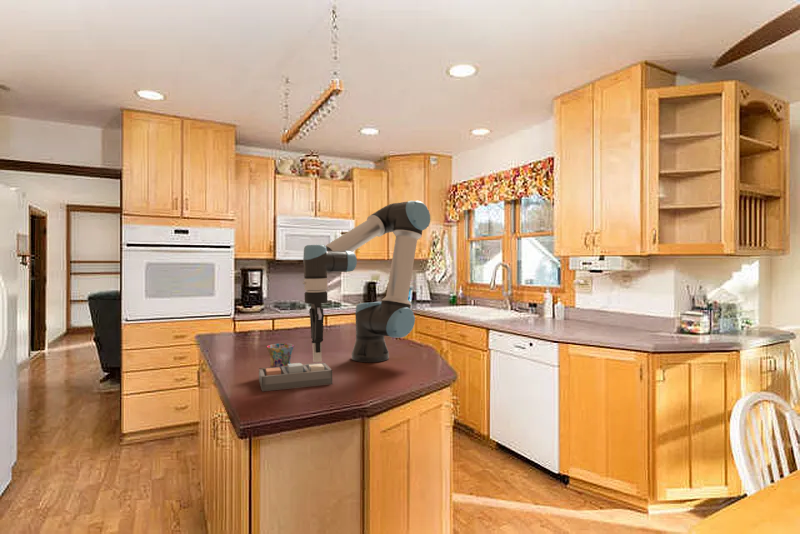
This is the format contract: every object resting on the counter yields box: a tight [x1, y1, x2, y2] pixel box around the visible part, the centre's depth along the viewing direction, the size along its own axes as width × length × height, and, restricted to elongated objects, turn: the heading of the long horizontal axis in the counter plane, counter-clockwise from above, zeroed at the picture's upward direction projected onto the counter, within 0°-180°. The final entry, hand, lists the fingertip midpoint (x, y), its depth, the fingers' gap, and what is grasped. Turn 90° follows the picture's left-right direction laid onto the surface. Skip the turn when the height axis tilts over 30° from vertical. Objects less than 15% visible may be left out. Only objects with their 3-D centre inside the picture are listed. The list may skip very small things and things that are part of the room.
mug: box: [266, 342, 295, 367], centre depth 161 cm, size 12×9×11 cm
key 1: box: [266, 367, 281, 376], centre depth 148 cm, size 4×4×2 cm
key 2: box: [309, 363, 324, 372], centre depth 153 cm, size 4×4×2 cm
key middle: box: [287, 362, 303, 374], centre depth 150 cm, size 4×4×2 cm
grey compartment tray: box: [258, 362, 333, 392], centre depth 150 cm, size 22×12×4 cm, turn 111°
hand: (317, 361), depth 153 cm, fingers closed
